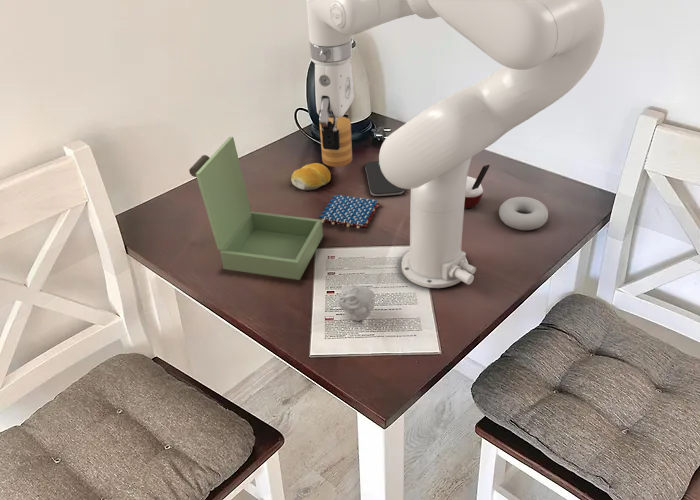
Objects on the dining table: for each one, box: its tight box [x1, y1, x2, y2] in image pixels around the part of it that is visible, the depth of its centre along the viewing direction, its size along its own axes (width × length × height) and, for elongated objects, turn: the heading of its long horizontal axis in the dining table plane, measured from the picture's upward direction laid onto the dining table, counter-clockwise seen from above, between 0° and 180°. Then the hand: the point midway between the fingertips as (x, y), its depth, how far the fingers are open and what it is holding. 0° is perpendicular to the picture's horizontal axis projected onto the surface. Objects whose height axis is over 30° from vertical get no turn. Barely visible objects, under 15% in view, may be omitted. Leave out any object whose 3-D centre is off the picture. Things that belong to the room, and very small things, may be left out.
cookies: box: [319, 117, 353, 168], centre depth 129 cm, size 6×6×8 cm
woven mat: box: [319, 194, 380, 229], centre depth 141 cm, size 10×11×2 cm
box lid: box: [189, 136, 252, 251], centre depth 126 cm, size 16×15×5 cm
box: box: [219, 210, 324, 281], centre depth 130 cm, size 16×15×5 cm
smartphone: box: [364, 160, 405, 197], centre depth 153 cm, size 8×1×15 cm
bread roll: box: [290, 162, 332, 191], centre depth 153 cm, size 8×9×4 cm
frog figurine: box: [335, 284, 375, 322], centre depth 113 cm, size 6×7×7 cm
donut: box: [498, 196, 549, 231], centre depth 137 cm, size 10×4×10 cm
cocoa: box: [464, 164, 491, 209], centre depth 139 cm, size 10×6×12 cm, turn 6°
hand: (336, 139), depth 129 cm, fingers closed on cookies, 6 cm apart
